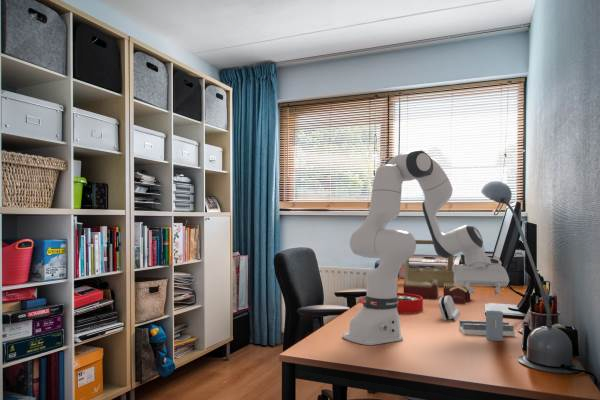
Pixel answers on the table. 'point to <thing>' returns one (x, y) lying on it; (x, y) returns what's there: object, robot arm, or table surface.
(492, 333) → the door panel
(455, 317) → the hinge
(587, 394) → the table surface
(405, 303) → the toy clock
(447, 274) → the caddy
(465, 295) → the toy houses
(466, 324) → the track base
